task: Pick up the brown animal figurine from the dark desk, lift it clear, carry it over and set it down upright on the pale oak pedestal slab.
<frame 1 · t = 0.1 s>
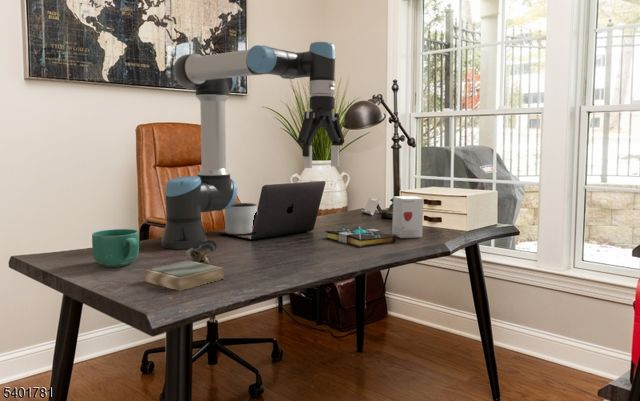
hand: (321, 167, 162), 28 cm above the table, fingers open, 13 cm apart
book: (360, 242, 195), on the table
planter: (241, 233, 210), on the table
pedestal: (184, 280, 138), on the table
mug: (119, 266, 154), on the table
supplement box: (407, 236, 205), on the table
brown animal figurine: (202, 263, 158), on the table
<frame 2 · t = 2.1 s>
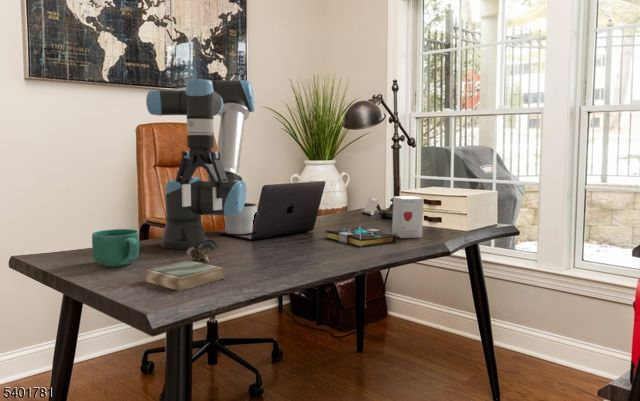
hand: (201, 208, 156), 16 cm above the table, fingers open, 13 cm apart
brown animal figurine: (202, 262, 159), on the table
everything else where it was.
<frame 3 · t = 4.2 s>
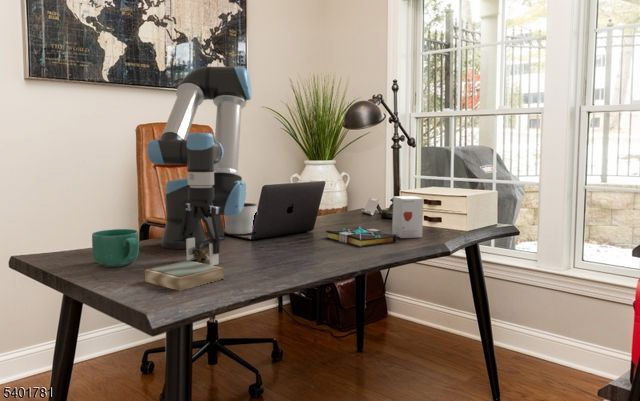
hand: (202, 262, 157), 0 cm above the table, fingers open, 10 cm apart
brown animal figurine: (204, 262, 160), on the table, touching gripper
everything else where it was.
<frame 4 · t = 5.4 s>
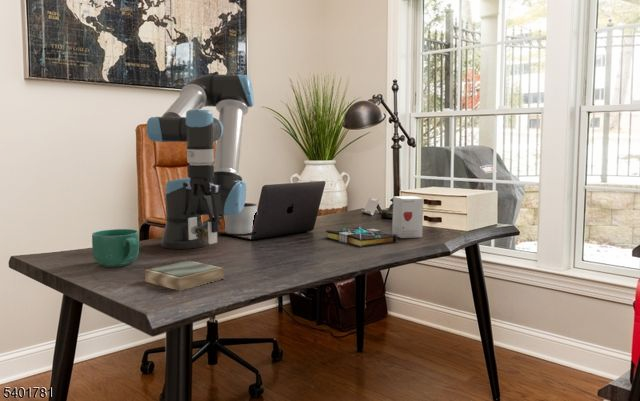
hand: (202, 241, 158), 6 cm above the table, fingers closed on brown animal figurine, 8 cm apart
brown animal figurine: (206, 241, 160), point 6 cm above the table, touching gripper
everything else where it was.
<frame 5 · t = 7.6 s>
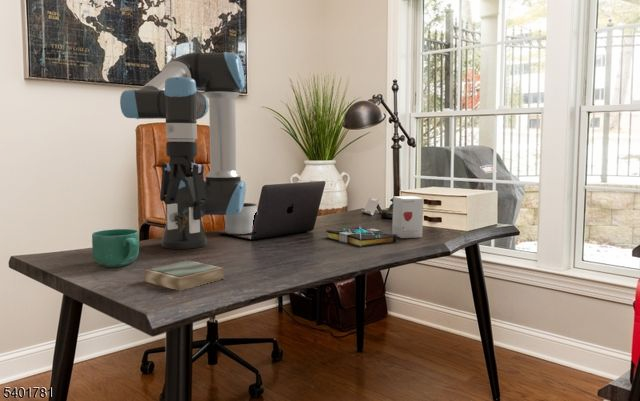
hand: (183, 230, 136), 13 cm above the table, fingers closed on brown animal figurine, 8 cm apart
brown animal figurine: (188, 230, 138), point 13 cm above the table, touching gripper
everything else where it was.
when the fingers open (4 cm above the table, at t = 9.8 s): brown animal figurine stays where it is, resting on pedestal.
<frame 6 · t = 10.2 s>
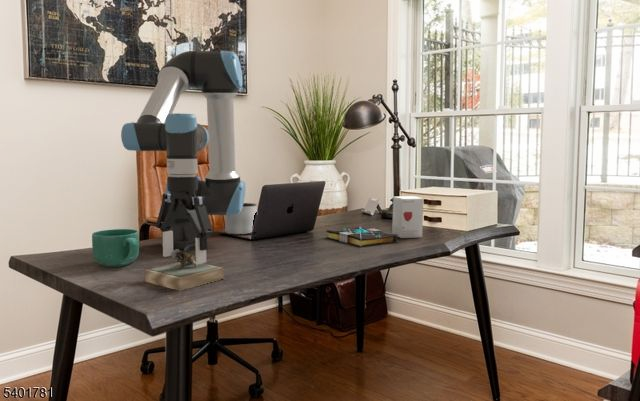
hand: (184, 259, 137), 6 cm above the table, fingers open, 12 cm apart
brown animal figurine: (189, 267, 139), point 3 cm above the table, touching pedestal
everything else where it was.
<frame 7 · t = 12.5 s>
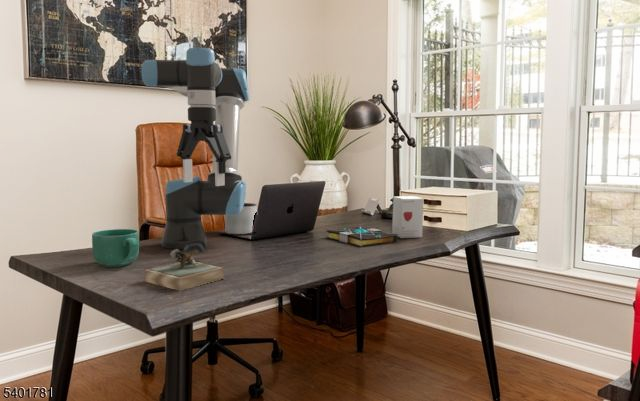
hand: (203, 183, 149), 24 cm above the table, fingers open, 13 cm apart
nothing on the table moved.
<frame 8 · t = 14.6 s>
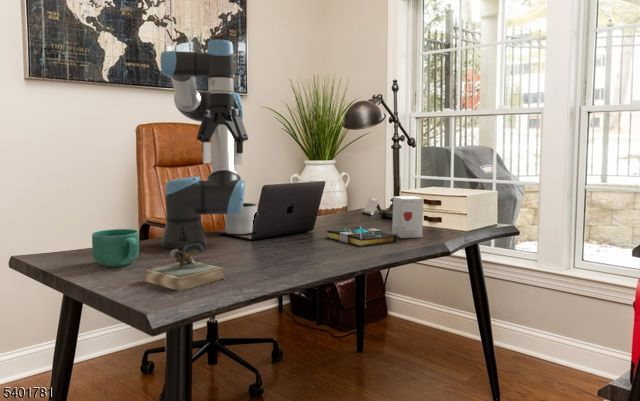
hand: (222, 164, 163), 29 cm above the table, fingers open, 13 cm apart
nothing on the table moved.
at the end: brown animal figurine inside the target area on the pedestal (2.6 cm from its centre), point 3.0 cm above the pedestal's base; brown animal figurine tilted 0°; the gripper is holding nothing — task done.
